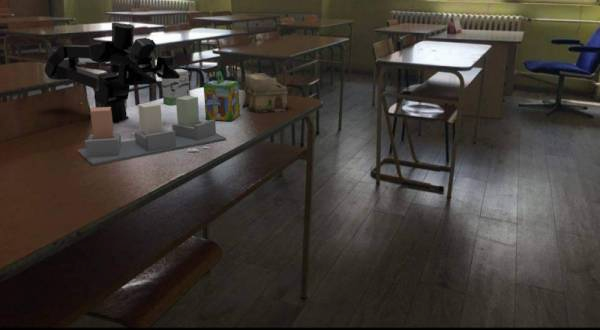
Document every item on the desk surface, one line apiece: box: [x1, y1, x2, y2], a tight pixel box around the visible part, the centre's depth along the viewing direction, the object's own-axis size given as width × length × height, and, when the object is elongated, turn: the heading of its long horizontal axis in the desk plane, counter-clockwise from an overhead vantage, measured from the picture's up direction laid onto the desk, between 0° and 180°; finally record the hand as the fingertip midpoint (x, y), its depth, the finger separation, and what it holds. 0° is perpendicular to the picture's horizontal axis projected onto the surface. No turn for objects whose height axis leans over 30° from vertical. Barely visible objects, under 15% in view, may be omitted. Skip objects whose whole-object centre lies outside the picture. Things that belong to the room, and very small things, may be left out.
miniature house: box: [242, 72, 290, 113], centre depth 174 cm, size 15×14×11 cm
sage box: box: [175, 95, 200, 127], centre depth 142 cm, size 4×4×10 cm
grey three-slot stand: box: [77, 120, 227, 166], centre depth 134 cm, size 14×36×5 cm, turn 128°
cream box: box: [137, 101, 163, 135], centre depth 133 cm, size 4×4×10 cm
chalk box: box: [202, 70, 241, 122], centre depth 161 cm, size 9×9×15 cm
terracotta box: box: [89, 106, 115, 140], centre depth 128 cm, size 4×4×10 cm
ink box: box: [161, 68, 191, 106], centre depth 181 cm, size 9×5×12 cm, turn 134°
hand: (167, 79), depth 142 cm, fingers open, 9 cm apart
